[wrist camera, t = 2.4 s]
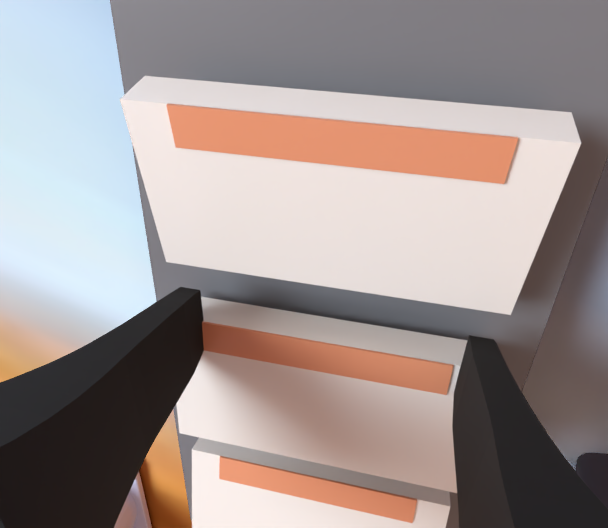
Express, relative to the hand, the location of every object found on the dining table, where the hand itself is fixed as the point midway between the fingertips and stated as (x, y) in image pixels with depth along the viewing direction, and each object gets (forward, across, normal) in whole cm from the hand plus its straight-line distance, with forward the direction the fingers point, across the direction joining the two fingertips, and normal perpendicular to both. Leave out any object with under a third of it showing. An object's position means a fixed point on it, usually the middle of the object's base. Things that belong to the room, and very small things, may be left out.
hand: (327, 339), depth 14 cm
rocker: (0, 0, +2) cm, 3 cm away
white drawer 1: (0, 0, +9) cm, 9 cm away
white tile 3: (0, 0, -4) cm, 4 cm away
